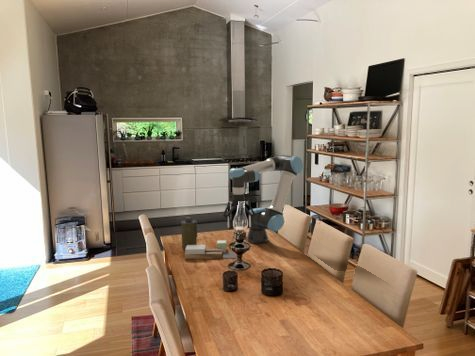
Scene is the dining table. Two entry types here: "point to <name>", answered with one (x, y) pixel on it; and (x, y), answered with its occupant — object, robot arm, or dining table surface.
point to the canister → (189, 232)
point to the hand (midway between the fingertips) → (239, 226)
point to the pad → (229, 255)
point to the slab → (195, 249)
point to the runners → (206, 254)
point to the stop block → (221, 245)
